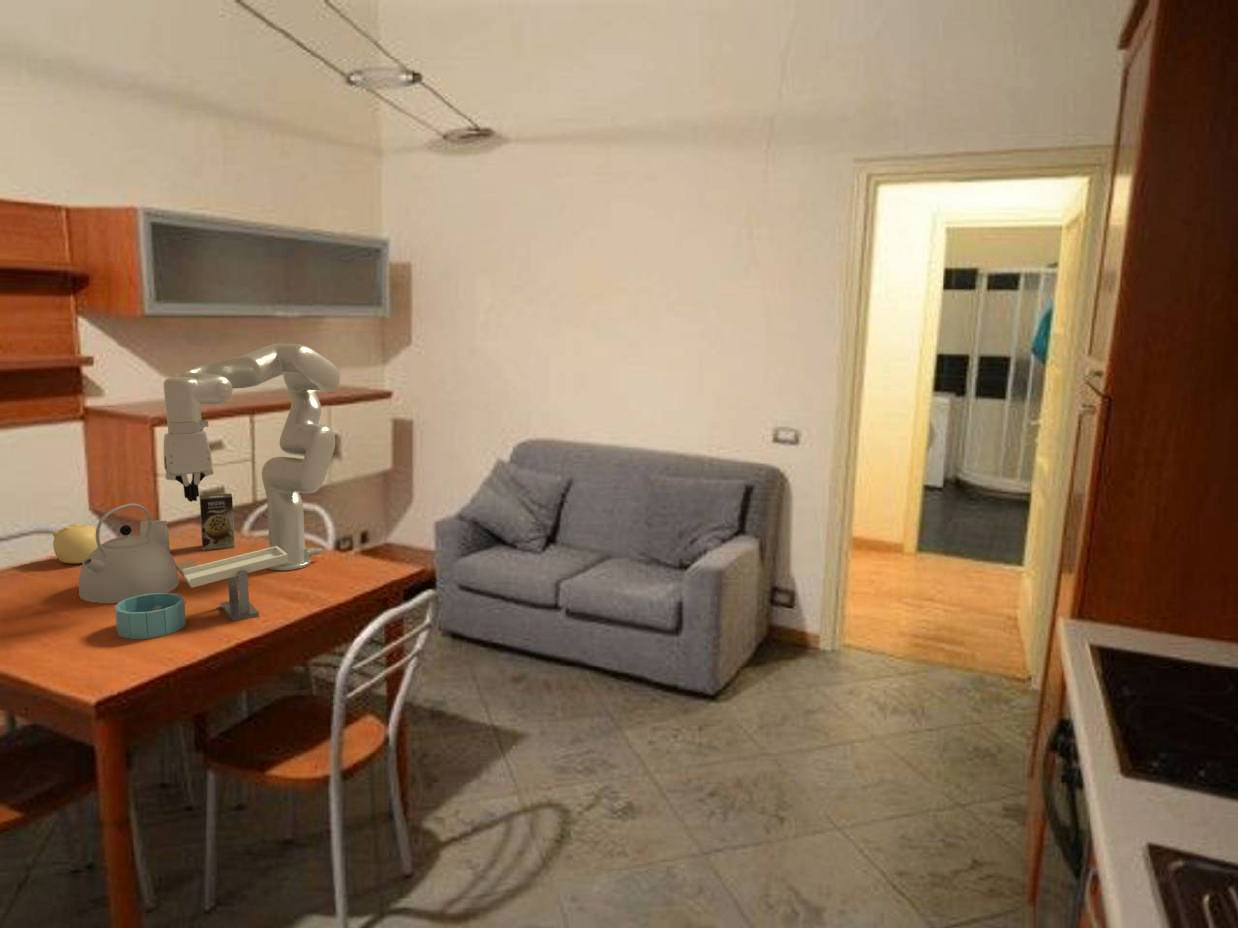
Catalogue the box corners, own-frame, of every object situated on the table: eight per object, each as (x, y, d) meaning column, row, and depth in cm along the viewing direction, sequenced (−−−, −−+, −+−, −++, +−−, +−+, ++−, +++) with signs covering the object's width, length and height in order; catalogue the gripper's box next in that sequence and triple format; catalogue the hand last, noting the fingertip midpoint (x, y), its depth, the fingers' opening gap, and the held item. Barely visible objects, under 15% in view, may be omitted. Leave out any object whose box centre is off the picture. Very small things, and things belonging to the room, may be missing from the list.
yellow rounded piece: (98, 552, 247) (95, 517, 245) (106, 562, 238) (103, 526, 236) (52, 559, 240) (48, 523, 238) (59, 569, 231) (55, 532, 229)
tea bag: (166, 554, 247) (164, 522, 246) (141, 555, 246) (138, 523, 244) (169, 551, 251) (167, 519, 249) (144, 552, 249) (142, 519, 247)
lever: (268, 549, 219) (266, 537, 218) (289, 567, 205) (287, 554, 204) (177, 572, 206) (174, 559, 206) (193, 592, 192) (190, 579, 191)
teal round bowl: (178, 612, 201) (176, 589, 200) (190, 630, 191) (188, 605, 190) (113, 624, 193) (111, 599, 192) (122, 643, 183) (120, 617, 182)
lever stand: (246, 601, 210) (243, 558, 208) (259, 616, 201) (256, 570, 199) (220, 606, 206) (217, 562, 204) (232, 621, 197) (229, 574, 195)
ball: (168, 604, 195) (150, 602, 193) (171, 609, 192) (153, 607, 190) (163, 621, 195) (144, 619, 193) (166, 626, 192) (147, 624, 190)
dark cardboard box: (202, 550, 252) (199, 499, 249) (202, 545, 258) (198, 494, 255) (235, 547, 256) (232, 496, 253) (234, 542, 262) (231, 492, 259)
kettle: (127, 610, 202) (119, 520, 198) (49, 601, 207) (40, 513, 203) (198, 579, 226) (192, 498, 222) (126, 572, 231) (120, 493, 227)
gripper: (214, 422, 211) (220, 492, 215) (147, 428, 201) (155, 501, 205) (221, 427, 205) (228, 498, 209) (154, 433, 196) (161, 508, 200)
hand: (192, 500), depth 207 cm, fingers closed
